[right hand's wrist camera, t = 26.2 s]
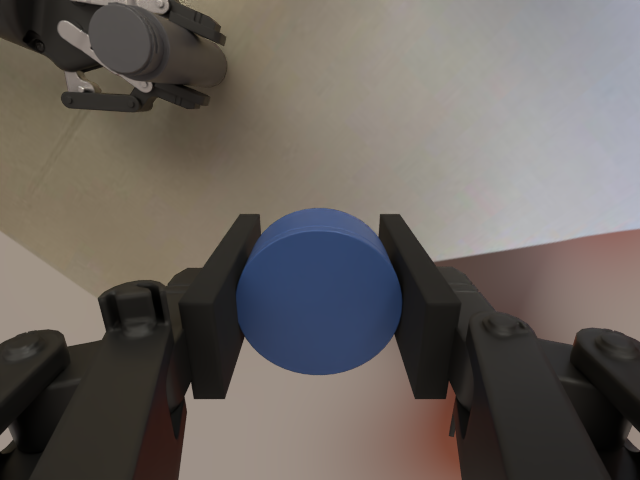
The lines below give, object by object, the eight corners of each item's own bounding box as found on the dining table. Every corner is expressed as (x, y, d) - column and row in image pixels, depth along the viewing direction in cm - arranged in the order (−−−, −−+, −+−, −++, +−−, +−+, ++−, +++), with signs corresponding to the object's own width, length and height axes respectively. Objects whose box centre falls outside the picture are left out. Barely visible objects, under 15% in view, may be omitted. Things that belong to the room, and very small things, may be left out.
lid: (412, 234, 11) (431, 261, 10) (359, 349, 13) (365, 392, 11) (270, 187, 11) (260, 205, 9) (233, 312, 12) (217, 351, 11)
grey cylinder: (229, 86, 35) (163, 78, 20) (188, 87, 35) (93, 81, 20) (223, 38, 33) (147, -6, 19) (180, 41, 33) (72, -2, 19)
